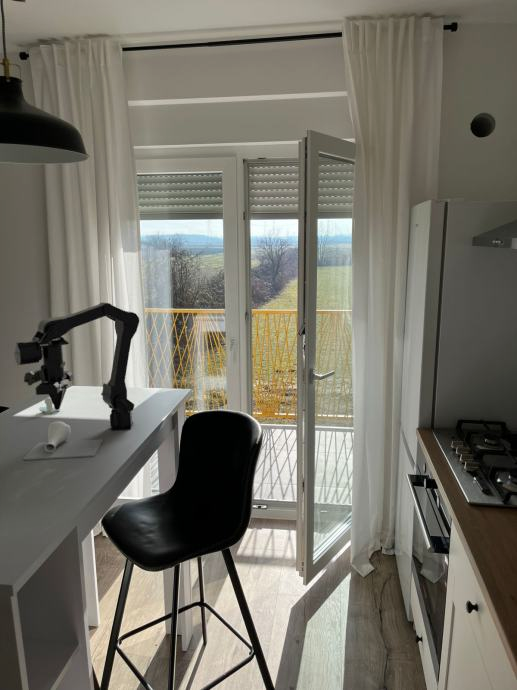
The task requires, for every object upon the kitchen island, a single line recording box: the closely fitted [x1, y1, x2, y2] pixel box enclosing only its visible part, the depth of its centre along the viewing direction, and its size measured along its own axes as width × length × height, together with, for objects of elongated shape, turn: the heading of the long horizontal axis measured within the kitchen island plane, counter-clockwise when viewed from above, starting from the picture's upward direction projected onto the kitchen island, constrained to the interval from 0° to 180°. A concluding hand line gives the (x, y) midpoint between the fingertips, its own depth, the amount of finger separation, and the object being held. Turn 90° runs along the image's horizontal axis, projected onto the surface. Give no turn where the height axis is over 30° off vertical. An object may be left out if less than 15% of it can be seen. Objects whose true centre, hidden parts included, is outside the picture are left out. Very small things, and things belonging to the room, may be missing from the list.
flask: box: [45, 421, 72, 452], centre depth 163 cm, size 7×7×10 cm
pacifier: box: [38, 396, 61, 415], centre depth 199 cm, size 7×6×6 cm
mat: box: [23, 439, 104, 461], centre depth 161 cm, size 20×13×1 cm, turn 95°
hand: (57, 409), depth 166 cm, fingers closed
